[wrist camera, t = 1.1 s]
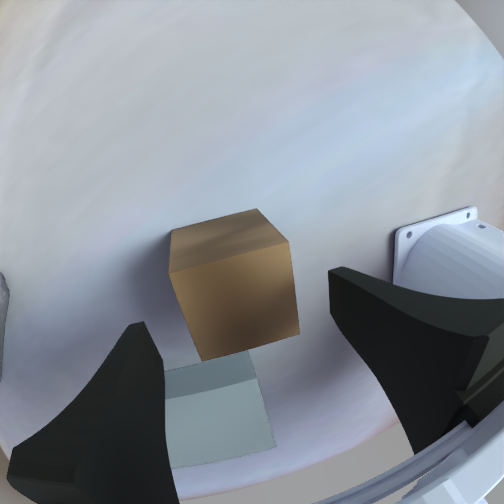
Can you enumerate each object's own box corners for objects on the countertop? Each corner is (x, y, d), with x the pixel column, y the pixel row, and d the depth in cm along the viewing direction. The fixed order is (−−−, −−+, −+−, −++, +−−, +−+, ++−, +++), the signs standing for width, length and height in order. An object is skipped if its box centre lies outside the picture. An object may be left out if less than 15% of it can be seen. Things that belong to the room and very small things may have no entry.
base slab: (246, 346, 19) (257, 378, 16) (267, 421, 23) (276, 446, 21) (112, 376, 18) (107, 408, 15) (163, 443, 22) (165, 469, 19)
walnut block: (256, 208, 15) (288, 241, 11) (269, 281, 17) (299, 333, 13) (171, 229, 15) (168, 273, 10) (194, 301, 17) (202, 361, 12)
